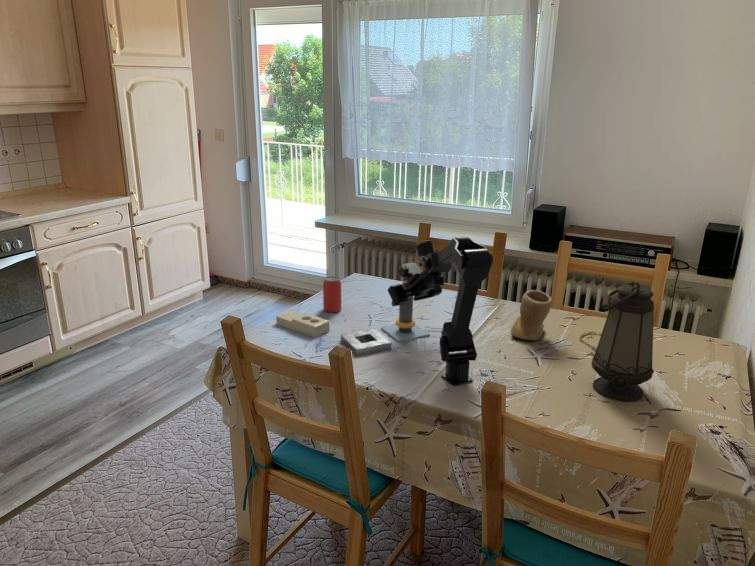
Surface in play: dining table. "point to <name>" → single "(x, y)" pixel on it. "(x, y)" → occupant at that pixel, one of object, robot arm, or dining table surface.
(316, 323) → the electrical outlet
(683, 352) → the dining table surface
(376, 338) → the socket block
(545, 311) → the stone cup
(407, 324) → the plug
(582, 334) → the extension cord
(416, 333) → the mat
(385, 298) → the dining table surface
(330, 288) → the beer can
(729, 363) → the dining table surface
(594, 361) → the lantern
